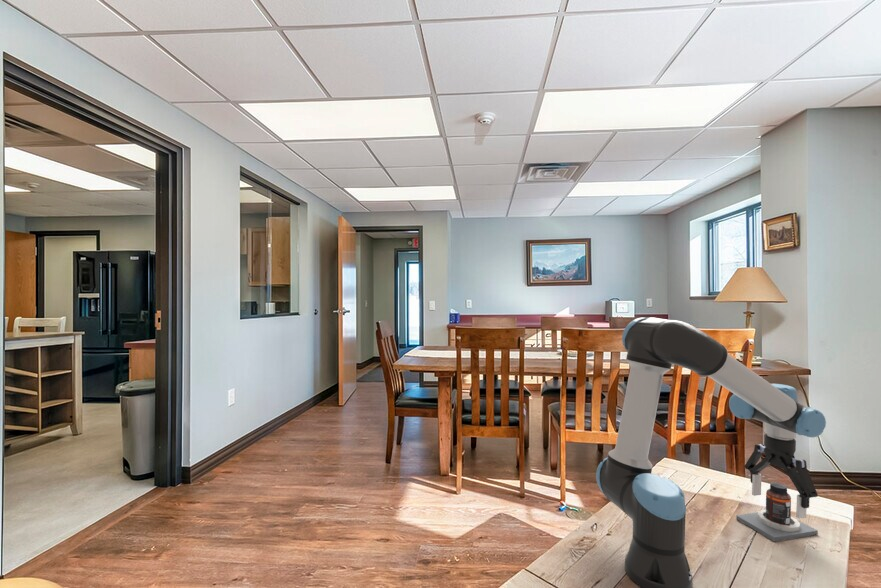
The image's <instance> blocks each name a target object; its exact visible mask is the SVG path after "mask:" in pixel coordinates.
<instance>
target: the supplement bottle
mask: <svg viewBox="0 0 881 588" xmlns="http://www.w3.org/2000/svg"><path fill="white" fill-rule="evenodd" d="M765 495H766V496H765V510H766V519H768V520H770V521H772V522H774V523H778V524H781V525H788V526H789V525H790V523H791V517H792V513H791V512H792V497H791V495H790V494H789V493H788V487H787V486H786V485H784V484H782V483H778V482H770V485H769V489H766V492H765Z"/></svg>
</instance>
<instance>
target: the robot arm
mask: <svg viewBox="0 0 881 588" xmlns="http://www.w3.org/2000/svg"><path fill="white" fill-rule="evenodd" d="M621 341H622V346H624V349H625V351H627V354H626V359H625V360H626V362H627V365H629V367H630V369H629V373H628V379H627V384H626V388H625V393H624V400H623V405H622V409H621V410H622V411H621V416H620V419H619V420H620V421H619V425H618V432H617V435H616V436H617V437H616V442H615V447H614V448H613V449H611V450H610V451H608V454H607V457H605V458H603V461H600V463H599V464H598V466H597V468H596V473H595V479H596V484H597V487H598V489H599V490H600V492H601V493H602V495H604V496H605V498H606V499H607V500H609V501H610V503H613V504H614V505H615V506H616V507H617V508H618V509H620V510H621V511H622V512H623V513H624V514H625V515H626V516H628V517H629V518H631V520H632V538H631V542H630V545H629V549H628V551H627V552H626V554H625V558H624V569H625V572H626V575H627V576H628V577H629V579H631V580H632V582H634V583H635V584H636V585H638V586H639V587H641V588H693V573H692V570H691V567H690V565H689V564H690V563H689V562H688V558H687V555H686V551H685V547H686V546H685V544H686V543H685V540H686V511H687V505H686V498H685V494H684V492H683V490H682V488H681V487H680V486H679V484H677V483H676V482H674V481H673V480H671V479H670V478H668V477H665V476H660V475H659V474H655V473H652V471H653V464H652V462H651V461H650V460H649V452H650V448H651V442H652V437H653V432H654V426H655V422H656V416H657V410H658V405H659V401H660V394H661V389H662V384H663V379H664V375H665V374H666V373H668V372H670V371H671V370H672V365H674V366H678V367H682V368H684V369H688V370H690V371H691V372H694V373H695V374H697V375H698V376H701V377H705V378H706V377H708V378H709V379H711V380H713V381H714V382H716V383H718V385H721V387H723V388H724V389H726V390H728V391H729V392H730V393H732V395H731V396H730V397H729V399H728V400H729V401H728V407H729V410H730V412H731V413H732V415H734V417H736V418H738V419H742V420H743V419H744V420H745V419H746V420H751V419H752V420H756V421H759V422H762V423H764V427H763V429H764V433H765V434H764V436H763V443H760V444H759V443H758V444H754V448H753V451H752V453H751V455H750V456H749V458H748V460H747V461H746V463H745V464H744V469H746V470H748V471H749V473H750V483H751V495H752V496H762V474H761V473H762V471H763V470H764V469H766V468H767V467H768V466H770V465H772V466H774V467H777V468H778V469H781V470H783V471H784V473H786V474H787V476H788V477H789V479H790V480H791V483H792V484H793V486H794V487H795V489H796V490H797V492H798V494H796V508H795V509H796V512H795V514H796V516H795V518H796V519H806V518H807V509H809V508H810V499H811V498H817V497H818V496H819V494H818V492H817V490H816V487H815V485H814V482H813V480H812V477H811V475H810V473H809V470H808V468H807V467H808V465H807V460H806V459H798V458H796V457H795V453H796V449H797V441H796V439H795V438H797V437H796V436H797V435H799V436H804V437H807V438H818V437H819V436H821V435H822V434H823V432H824V430H825V429H826V427H827V426H826V424H827V421H826V418H825V417H826V416H825V415H824V414H823V413H822V412H821V411H820V410H818V409H816V408H814V407H810V406H805V405H803V404H801V403H799V401H798V391H797V389H796V388H795V387H793V386H790V385H788V384H782V383H770V382H769V381H768V380H767V379H765V378H763V377H761V376H760V375H759V374H757V373H756V372H755V371H754V370H752V369H750V367H748V366H746V365H745V364H744V363H742V362H740V361H739V360H737V359H736V358H735V357H733V356H732V355H730V354H729V351H728V348H726V346H725V345H724V344H722V343H721V342H719V341H717V340H716V339H715V338H713V337H711V336H710V335H709V334H708V333H706V332H704V331H702V330H701V329H700V328H697V327H696V326H694V325H692V324H690V323H688V322H685V321H682V320H677V319H666V318H659V317H652V316H647V317H638V318H635V319H633V320H632V321H630V322H628V324H627V325H626V326H625V327H624V330H623V331H622V335H621ZM763 454H765V456H764V457H763V458H762V459H761V460H760V458H761V457H762V456H763ZM759 460H760V462H759Z"/></svg>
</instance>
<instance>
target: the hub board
mask: <svg viewBox="0 0 881 588" xmlns="http://www.w3.org/2000/svg"><path fill="white" fill-rule="evenodd" d="M735 518H736V520H737V521H739V522H740V523H743V524H744V525H746V526H747V527H749V528H750V529H752V530H754V531H756V532H758V533H759V534H761V535H762V536H764V537H766V538H768V539H769V540H771V541H772V542H774V543H775V542H781V541H786V540H793V539H798V538H805V537H810V536H816V535H815V534H818V535H819V531H818V529H815V528H813V527H812V526H811V525H810V526H809V525H808V524H806V523H804V522H802V521H800V520H799V519H798V518H796V517H793V516H791V523H790V525H789V526H788V525H781V524H778V523H774V522H772V521H770V520H768V519H766V509H761V510H758V512H757V511H756V512H750V513H743V514H737V515H736V517H735Z"/></svg>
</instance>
